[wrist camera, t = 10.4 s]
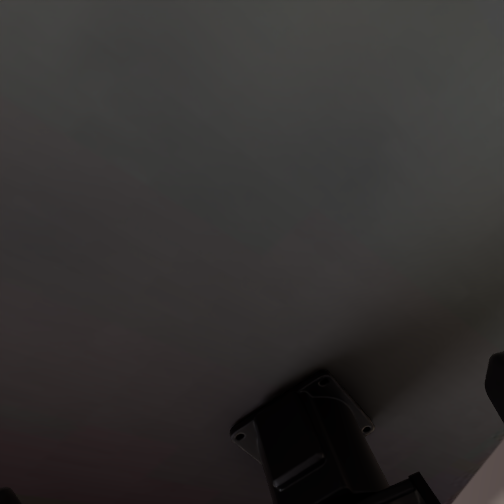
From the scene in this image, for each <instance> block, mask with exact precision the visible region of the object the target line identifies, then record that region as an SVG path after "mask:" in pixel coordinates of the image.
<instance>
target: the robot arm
mask: <svg viewBox="0 0 504 504" xmlns="http://www.w3.org/2000/svg"><path fill="white" fill-rule="evenodd" d="M323 379H324V380H323ZM321 380H322V381H321ZM485 389H486V392H487V395H488V397H489V399H490V400H491V402H492V404H493V405H494V407H495V409H496V411H497V412H498V414H499V416H500V417H501V419H502V421H503V423H504V351H503V352H499V353H496V354H493V355H492V356H491V357H490V359H489V364H488V369H487V374H486V379H485ZM374 428H375V427H374V425H373V423H372V421H371V419H370V418H369V417H368V416H367V415H366V414H365V412H364V411H363V410H362V409H361V408H360V407H359V406H358V404H357V403H356V402H355V401H354V400H353V399H352V398H351V396H350V395H349V394H348V393H347V392H346V391H345V390H344V388H343V387H342V386H341V385H340V384H339V383H338V382H337V380H336V379H335V378H334V377H333V376H332V375H331V374H330V372H328V371H326V370H322V371H319V372H317V373H315V374H314V375H312V376H311V377H309V378H308V379H306V380H305V381H303V382H302V383H300V384H298V385H297V386H295V387H294V388H292V389H291V390H289V391H288V392H286V393H285V394H283V395H282V396H280V397H278V398H277V399H275V400H274V401H272V402H271V403H269V404H268V405H266V406H265V407H263V408H262V409H260V410H259V411H257V412H255V413H254V414H252V415H251V416H249V417H248V418H246V419H245V420H243V421H242V422H240V423H239V424H237V425H235V426H234V427H233V428H232V429H231V430H230V436H231V440H232V441H233V442H234V443H235V444H236V445H238V446H239V447H240V448H241V449H243V450H244V451H245V452H246V453H248V454H249V455H250V456H252V457H253V458H254V459H255V460H257V461H258V462H259V463H260V464H262V465H263V468H264V472H265V475H266V479H267V482H268V486H269V489H270V493H271V497H272V500H273V504H441V503H440V502H439V501H438V499H437V498H436V496H435V495H434V493H433V492H432V490H431V489H430V487H429V486H428V484H427V483H426V481H425V480H424V478H423V477H422V475H421V474H420V472H417V473H414V474H412V475H410V476H408V477H409V478H408V479H406V480H404V481H401V482H399V483H397V484H395V485H392V486H389V484H388V482H387V480H386V478H385V476H384V474H383V472H382V470H381V468H380V466H379V464H378V463H377V461H376V459H375V457H374V455H373V453H372V451H371V449H370V447H369V445H368V443H367V441H366V439H365V436H367V435H368V434H370V433H371V432H373V430H374ZM0 504H21V502H20V501H19V499H18V498H17V496H16V495H15V493H14V492H13V490H12V489H11V488H8V487H4V488H0Z"/></svg>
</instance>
